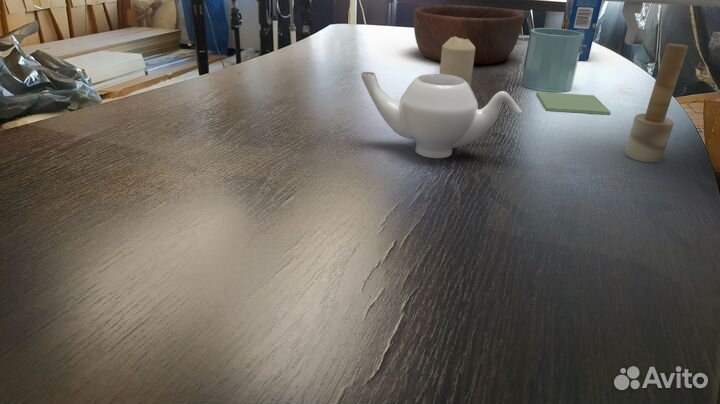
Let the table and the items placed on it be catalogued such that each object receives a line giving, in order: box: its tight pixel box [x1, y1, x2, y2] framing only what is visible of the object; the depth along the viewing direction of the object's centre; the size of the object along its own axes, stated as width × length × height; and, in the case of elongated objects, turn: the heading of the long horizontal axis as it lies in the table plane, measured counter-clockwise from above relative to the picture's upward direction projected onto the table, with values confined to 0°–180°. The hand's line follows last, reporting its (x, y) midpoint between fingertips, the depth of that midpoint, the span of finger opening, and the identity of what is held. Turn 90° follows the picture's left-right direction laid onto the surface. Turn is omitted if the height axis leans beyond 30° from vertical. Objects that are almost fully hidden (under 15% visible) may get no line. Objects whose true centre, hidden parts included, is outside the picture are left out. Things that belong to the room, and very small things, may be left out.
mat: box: [535, 91, 611, 116], centre depth 85 cm, size 10×10×1 cm
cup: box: [521, 27, 584, 93], centre depth 94 cm, size 9×9×10 cm
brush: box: [624, 43, 689, 163], centre depth 62 cm, size 4×4×14 cm
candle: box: [439, 36, 475, 88], centre depth 86 cm, size 6×6×10 cm
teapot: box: [360, 71, 523, 159], centre depth 62 cm, size 10×20×9 cm, turn 74°
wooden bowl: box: [412, 4, 525, 66], centre depth 117 cm, size 25×25×10 cm
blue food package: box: [560, 0, 603, 61], centre depth 118 cm, size 6×12×25 cm, turn 166°
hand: (674, 46), depth 58 cm, fingers open, 8 cm apart
